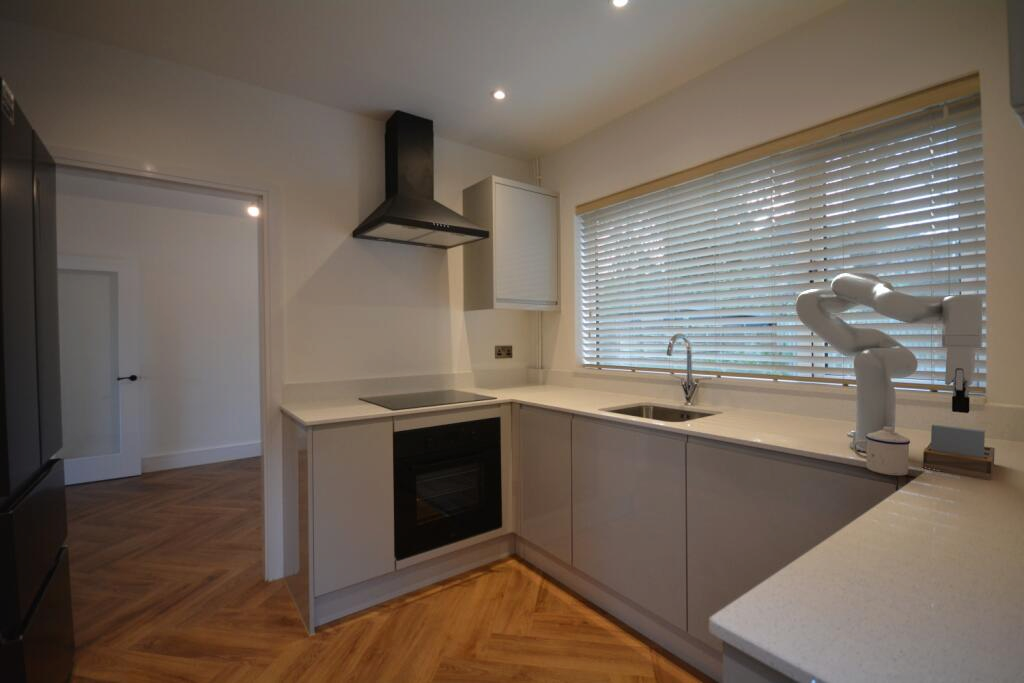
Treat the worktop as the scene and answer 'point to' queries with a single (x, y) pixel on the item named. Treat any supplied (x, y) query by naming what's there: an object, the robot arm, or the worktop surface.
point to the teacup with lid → (886, 452)
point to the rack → (960, 463)
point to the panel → (958, 441)
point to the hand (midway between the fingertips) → (960, 411)
